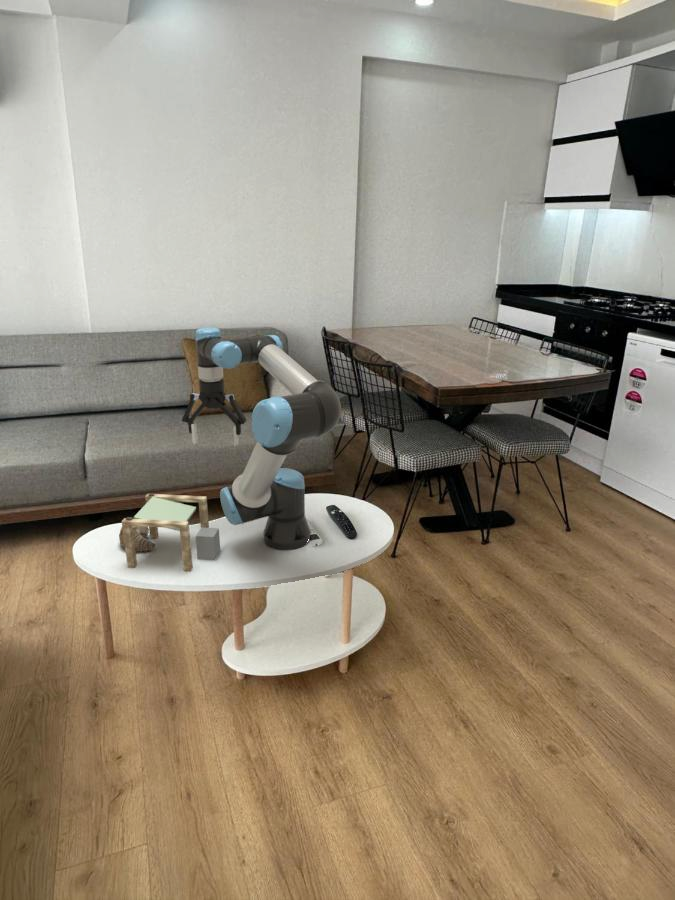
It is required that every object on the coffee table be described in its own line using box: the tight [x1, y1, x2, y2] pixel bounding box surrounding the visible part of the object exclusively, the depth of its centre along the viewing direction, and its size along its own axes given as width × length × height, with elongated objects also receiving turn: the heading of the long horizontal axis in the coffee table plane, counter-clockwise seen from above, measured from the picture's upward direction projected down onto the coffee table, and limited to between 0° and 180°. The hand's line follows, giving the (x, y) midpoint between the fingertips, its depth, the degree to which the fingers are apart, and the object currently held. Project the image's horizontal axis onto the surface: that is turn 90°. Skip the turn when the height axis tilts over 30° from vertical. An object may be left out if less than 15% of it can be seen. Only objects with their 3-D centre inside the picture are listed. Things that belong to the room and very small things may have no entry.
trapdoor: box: [133, 497, 197, 532], centre depth 181 cm, size 14×14×4 cm
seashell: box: [118, 526, 156, 553], centre depth 190 cm, size 14×10×10 cm
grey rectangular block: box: [195, 526, 221, 561], centre depth 183 cm, size 6×6×8 cm
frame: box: [121, 492, 210, 572], centre depth 183 cm, size 19×19×16 cm
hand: (215, 443), depth 194 cm, fingers open, 13 cm apart
